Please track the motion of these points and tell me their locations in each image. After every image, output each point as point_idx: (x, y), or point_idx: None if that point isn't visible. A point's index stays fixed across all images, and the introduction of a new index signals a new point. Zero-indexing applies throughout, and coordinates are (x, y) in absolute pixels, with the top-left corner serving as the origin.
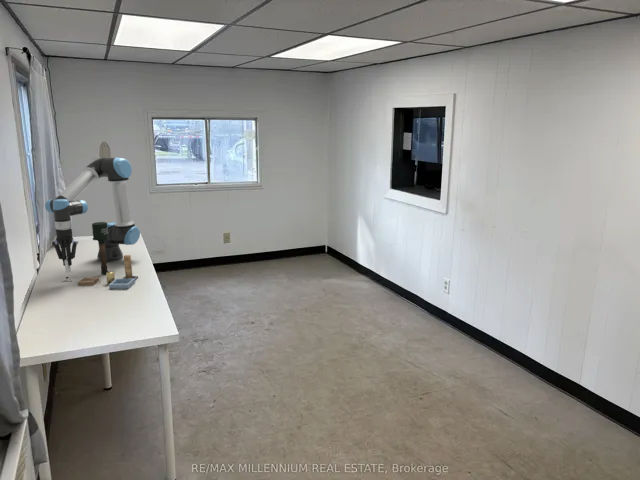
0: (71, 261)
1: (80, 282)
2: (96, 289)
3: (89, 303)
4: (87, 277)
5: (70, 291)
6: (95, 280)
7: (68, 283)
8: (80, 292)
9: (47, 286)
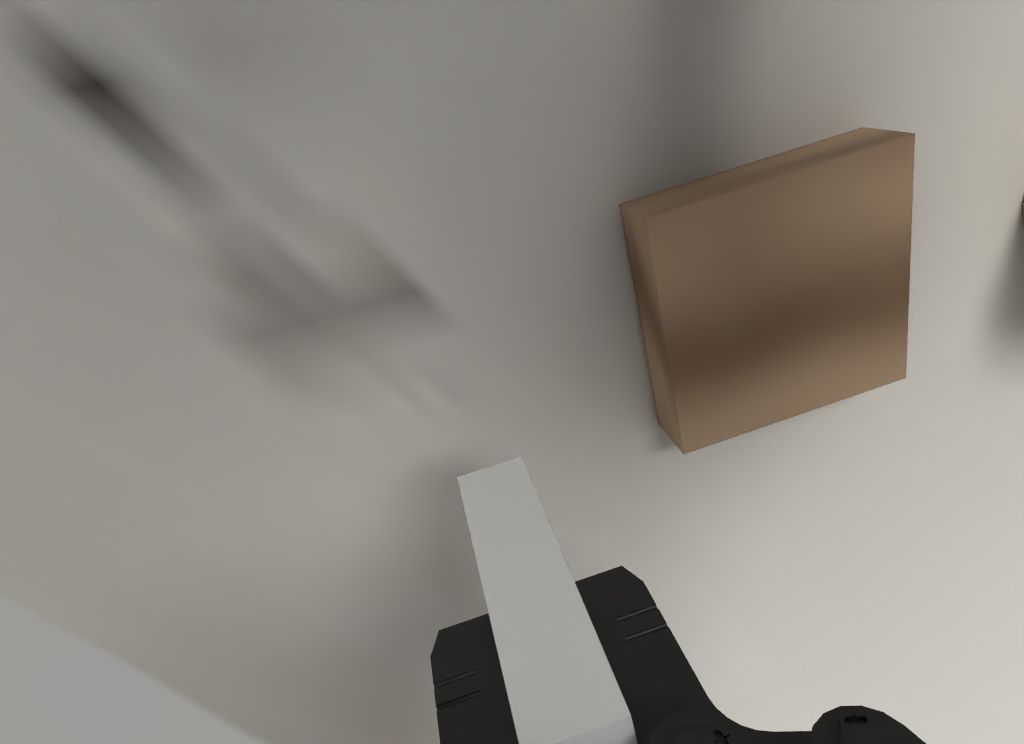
0: (684, 656)
1: (718, 435)
2: (957, 459)
3: (1012, 718)
4: (714, 211)
5: (694, 603)
6: (900, 287)
7: (443, 394)
8: (822, 585)
9: (239, 589)
